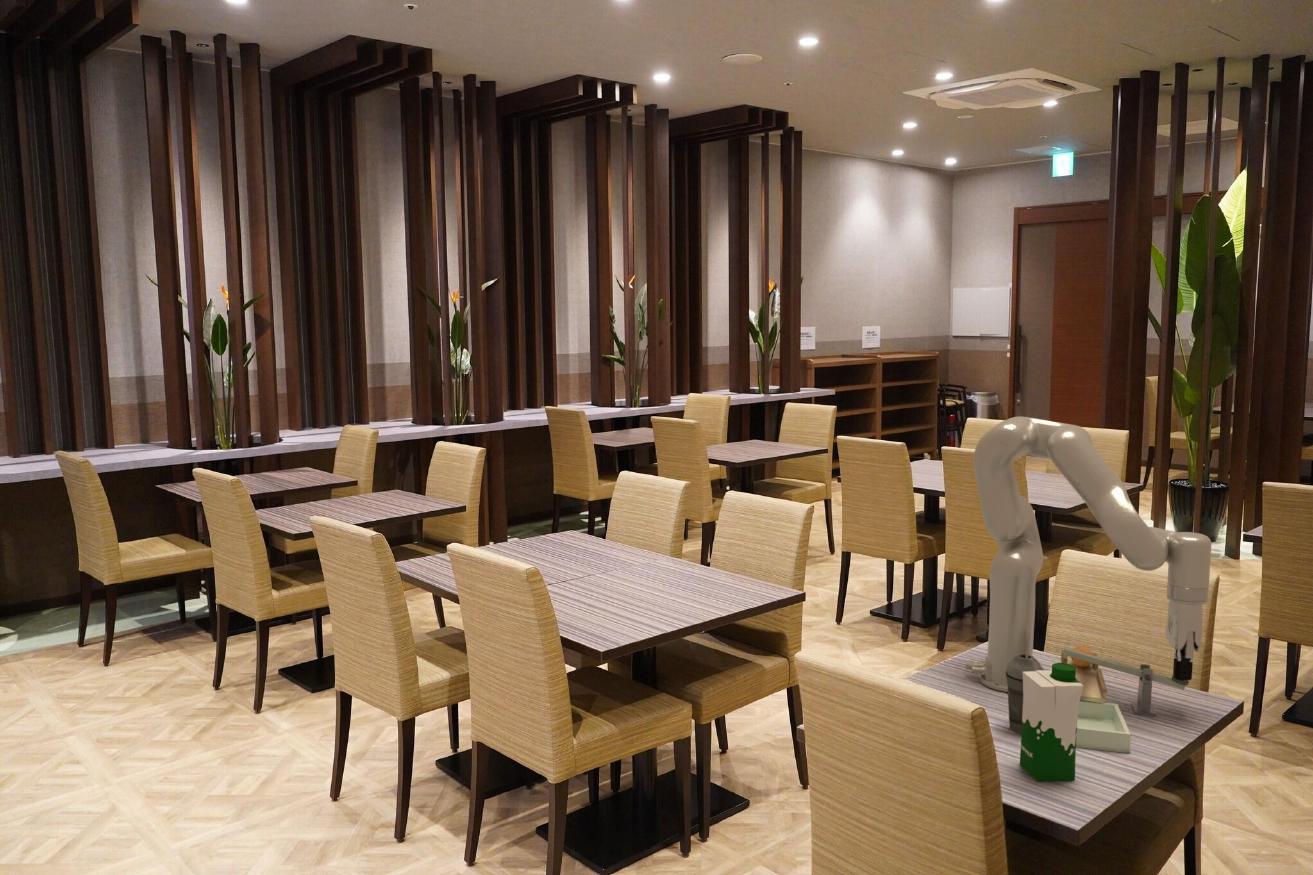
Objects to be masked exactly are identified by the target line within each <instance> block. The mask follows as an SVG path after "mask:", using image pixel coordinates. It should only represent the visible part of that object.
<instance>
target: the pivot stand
mask: <svg viewBox="0 0 1313 875" xmlns="http://www.w3.org/2000/svg"><path fill="white" fill-rule="evenodd" d="M1139 669H1141V670H1143V674H1142V678H1141V677H1138V690H1137V702H1132V701H1131V702H1130V707H1131V709H1132V710H1133V712H1134V714H1135V715H1138V716H1146V715H1147V716H1148V717H1155V718H1156V717H1157V713H1156V711H1155V710H1156V709H1155V708H1154V706H1153V704H1152V692H1153V690H1152V689H1153V681H1152V676H1153V673H1154V670H1153V669H1151V665H1150V664H1148V663H1147V664H1145V663H1140V665H1139ZM1147 716H1146V717H1147Z"/></svg>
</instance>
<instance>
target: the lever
mask: <svg viewBox="0 0 1313 875" xmlns="http://www.w3.org/2000/svg"><path fill="white" fill-rule="evenodd" d="M1063 650H1064V652H1063V653H1064V655H1066V656H1067V657H1070V658H1071V657H1073V658H1076V659H1080V660H1083V661H1087V662H1090V663H1094V664H1097V665H1098V666H1101V667H1104V668H1108V669H1111V670H1115V671H1118V672H1121V673H1124V674H1127V675H1128V674H1129V675H1132V676H1135V677H1138V678H1139V677H1141V678H1142V674H1143V670H1141V669H1140V668H1139V667H1134V666H1130V665H1128V664H1124V663H1121V662H1117V661H1113V660H1110V659H1107V658H1104V657H1099V656H1098V655H1097V656H1093V655H1090V654H1086V653H1083V652H1079V651H1076V650H1073V649H1072V648H1069V647H1064V649H1063ZM1152 682H1156V683H1159V684H1163V685H1166V686H1168V687H1169V686H1170V687H1173V688H1175V689H1179V690H1183V691H1184V690H1185V689H1186V686H1189V684H1190V680H1179V679H1175V678H1174V676H1173V675H1172V677H1168V676H1165V675H1161V674H1159V673H1154V672H1153V676H1152Z"/></svg>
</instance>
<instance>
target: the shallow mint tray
mask: <svg viewBox="0 0 1313 875" xmlns="http://www.w3.org/2000/svg"><path fill="white" fill-rule="evenodd" d="M1131 735H1132V734H1131V732H1130V729H1129V728H1128V725H1127V723H1126V720H1125V718H1124V716H1123V714H1122V712H1121V709H1120V707H1119V705H1118V703H1111V702H1106V703H1100V702H1091V701H1082V700H1080V701H1079V707H1078V722H1077V738H1076V748H1081V749H1090V750H1098V751H1106V752H1116V753H1122V754H1124V753H1125V754H1130V752H1131V748H1130V747H1131V737H1132V736H1131Z"/></svg>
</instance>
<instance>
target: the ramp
mask: <svg viewBox="0 0 1313 875" xmlns="http://www.w3.org/2000/svg"><path fill="white" fill-rule="evenodd" d="M1063 652H1064V649H1063V650H1061V657H1060V663H1066V664H1070V665H1073V666H1074V667H1075V668H1076V677H1075V678H1076V679H1077V681H1079V682H1080V683H1081V684H1082V685H1083V690H1082V694H1081V697H1080V700H1082V701H1091V702H1100V703H1107V694H1108V689H1107V685H1106V682H1105V679H1104V678H1105V677H1104V675H1103V672H1102V669H1101V668H1099V665H1097V664H1094V663H1091V664H1090V665H1089V666H1086V667H1080V666H1077V665H1076V664H1074V662H1073V661H1072V659H1071V658H1068V656H1066V655H1064V653H1063ZM1092 654H1093V656H1097V657H1098V655H1097V653H1096V652H1095V653H1094V652H1092Z"/></svg>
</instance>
